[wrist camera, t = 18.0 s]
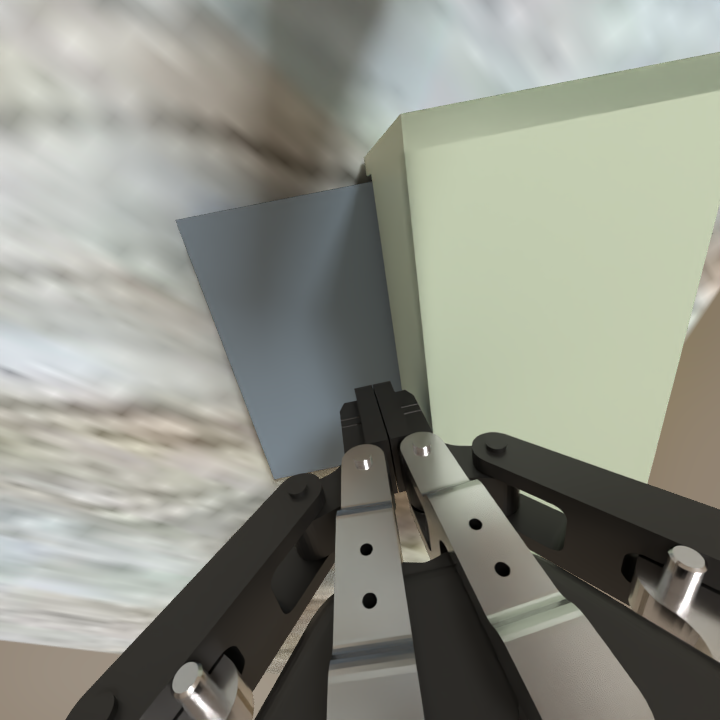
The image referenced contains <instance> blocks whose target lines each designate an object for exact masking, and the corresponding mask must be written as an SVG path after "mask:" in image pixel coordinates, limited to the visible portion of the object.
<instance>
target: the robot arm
mask: <svg viewBox="0 0 720 720" xmlns="http://www.w3.org/2000/svg"><path fill="white" fill-rule="evenodd" d="M354 390H355V395H356V399H357V401H352V402H347V403H344V404H343V406H342V408H341V410H340V419H341V427H342V436H343V445H344V456H343V458H342V462H341V465H340V467H339V468H338V469H337V470H336V471H334V472H333V473H331V474H330V475H328V476H326V477H324V478H322V479H319V478H318V477H317V476H316V475H313V474H310V473H301V474H297V475H294V476H292V477H290V478H288V479H287V480H286V481H284V482H283V483H282V484H281V485H280V486H279V487H278V488H277V489H276V491H275V492H274V493H273V494H272V495H271V496H270V497H269V498H268V499H267V500H266V501H265V502H264V503H263V504H262V505H261V507H260V508H259V509H258V510H257V511H256V512H255V513H254V514H253V515H252V516H251V517H250V518H249V519H248V520H247V521H246V522H245V524H244V525H243V526H242V527H241V528H240V529H239V530H238V531H237V532H236V533H235V534H234V535H233V536H232V537H231V538H230V540H229V541H228V542H227V543H226V544H225V545H224V546H223V547H222V548H221V549H220V550H219V551H218V552H217V553H216V554H215V556H214V557H213V558H212V559H211V560H210V561H209V562H208V563H207V564H206V565H205V566H204V567H203V568H202V569H201V570H200V572H199V573H198V574H197V575H196V576H195V577H194V578H193V579H192V580H191V581H190V582H189V583H188V584H187V585H186V586H185V587H184V589H183V590H182V591H181V592H180V593H179V594H178V595H177V596H176V597H175V598H174V599H173V600H172V601H171V602H170V603H169V605H168V606H167V607H166V608H165V609H164V610H163V611H162V612H161V613H160V614H159V615H158V616H157V617H156V618H155V619H154V621H153V622H152V623H151V624H150V625H149V626H148V627H147V628H146V629H145V630H144V631H143V632H142V633H141V634H140V635H139V637H138V638H137V639H136V640H135V641H134V642H133V643H132V644H131V645H130V646H129V647H128V648H127V649H126V650H125V651H124V652H123V654H122V655H121V656H120V657H119V658H118V659H117V660H116V661H115V662H114V663H113V664H112V665H111V666H110V667H109V668H108V670H107V671H106V672H105V673H104V674H103V675H102V676H101V677H100V678H99V679H98V680H97V681H96V682H95V684H93V686H92V687H91V688H90V689H89V690H88V691H87V692H86V693H85V694H84V695H83V696H82V698H81V699H80V700H79V701H78V702H77V704H76V705H75V706H74V708H73V709H72V711H71V712H70V713H69V715H68V717H67V718H66V720H252V718H253V711H254V699H253V694H252V692H253V690H254V689H255V687H256V685H257V684H258V682H259V681H260V679H261V678H262V676H263V675H264V673H265V671H266V670H267V668H268V667H269V665H270V664H271V662H272V660H273V659H274V657H275V656H276V654H277V652H278V651H279V649H280V648H281V646H282V645H283V643H284V641H285V640H286V638H287V637H288V635H289V634H290V632H291V630H292V629H293V627H294V626H295V624H296V622H297V621H298V619H299V618H300V616H301V615H302V613H303V611H304V610H305V608H306V607H307V605H308V604H309V602H310V600H311V599H312V597H313V596H314V594H315V593H316V591H317V589H318V588H319V586H320V585H321V583H322V581H323V580H324V578H325V577H326V575H327V574H328V572H329V570H330V569H331V567H332V566H333V564H334V563H335V583H334V594H333V595H332V596H331V597H329V598H328V599H327V600H326V601H325V602H324V604H323V605H322V606H321V607H320V608H319V609H318V611H317V612H316V614H315V615H314V616H313V618H312V619H311V621H310V623H309V624H308V626H307V628H306V630H305V631H304V633H303V635H302V637H301V638H300V640H299V642H298V644H297V645H296V647H295V649H294V651H293V653H292V654H291V656H290V658H289V660H288V661H287V663H286V665H285V667H284V668H283V670H282V672H281V674H280V676H279V677H278V679H277V681H276V683H275V684H274V686H273V688H272V690H271V691H270V693H269V695H268V697H267V698H266V700H265V702H264V704H263V706H262V707H261V709H260V711H259V713H258V714H257V716H256V718H255V720H720V510H719V509H717V508H714V507H711V506H708V505H705V504H703V503H700V502H697V501H694V500H691V499H688V498H685V497H682V496H680V495H677V494H674V493H671V492H668V491H666V490H663V489H660V488H657V487H654V486H651V485H649V484H646V483H643V482H640V481H637V480H634V479H632V478H629V477H626V476H623V475H620V474H617V473H615V472H612V471H609V470H606V469H603V468H600V467H598V466H595V465H592V464H589V463H586V462H583V461H581V460H578V459H575V458H572V457H569V456H566V455H563V454H561V453H558V452H555V451H552V450H549V449H546V448H544V447H541V446H538V445H535V444H532V443H529V442H527V441H524V440H521V439H518V438H515V437H512V436H510V435H507V434H503V433H499V432H488V433H484V434H481V435H479V436H477V437H476V438H475V439H474V440H473V442H472V446H457V445H450V444H447V443H444V442H443V440H442V439H441V438H440V437H439V436H437V435H436V434H433V432H432V430H431V428H430V426H429V424H428V422H427V420H426V418H425V416H424V414H423V412H422V411H421V408H420V406H419V404H418V403H417V401H416V399H415V397H414V395H413V394H411V393H409V392H408V391H406V390H402V391H398V392H395V391H394V389H393V387H392V384H391V382H390V381H386V382H382V383H377V384H373V388H372V385H368V386H364V387H359V388H354ZM396 483H397V485H396ZM397 486H398V489H399V492H403V491H406V492H407V496H408V499H409V505H410V510H411V513H412V516H413V518H414V521H415V523H416V526H417V528H418V531H419V533H420V535H421V538H422V540H423V543H424V545H425V548H426V550H427V553H428V555H429V558H430V561H428V562H425V563H410V562H403V556H402V550H401V544H400V538H399V532H398V525H397V519H396V514H395V509H396V503H395V498H394V493H398V491H397ZM520 490H522V491H524V492H526V493H528V494H530V495H533V496H535V497H537V498H539V499H541V500H544V501H546V502H548V503H550V504H552V505H554V506H556V507H558V508H559V509H560V510H561V511H562V512H563V513H562V512H560V511H558V510H556V509H553V508H551V507H549V506H547V505H545V504H543V503H540V502H538V501H536V500H534V499H532V498H530V497H527V496H525V495H523V494H521V493H520ZM530 550H531V551H533V552H535V553H536V554H538V555H540V556H542V557H543V558H542V557H540V556H538V555H535V554H532V553H531V552H530ZM544 558H545V559H544ZM546 559H547V560H546ZM550 561H551V562H550ZM557 565H558V566H557ZM559 566H560V567H559ZM562 568H563V569H562ZM564 569H565V570H564ZM566 570H567V571H568V572H567V571H566ZM569 572H570V573H569ZM571 573H572V574H574V575H576V576H577V577H579V578H581V579H583V580H584V581H586V582H588V583H590V584H592V585H593V586H595V587H597V588H599V589H601V590H602V591H604V592H606V593H608V594H609V595H611V596H613V597H615V598H616V599H618V600H620V601H622V602H624V603H626V604H627V605H629V606H631V608H632V610H631V609H629V608H627V607H626V606H624V605H623V604H621V603H619V602H617V601H616V600H614V599H613V598H611V597H609V596H608V595H606V594H604V593H602V592H601V591H599V590H598V589H596V588H594V587H593V586H591V585H589V584H587V583H586V582H584V581H582V580H581V579H579V578H577V577H576V576H574V575H572V574H571Z"/></svg>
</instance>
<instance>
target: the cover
mask: <svg viewBox="0 0 720 720" xmlns="http://www.w3.org/2000/svg"><path fill="white" fill-rule="evenodd" d="M364 161H365V168H366V174H367V176H372V183H373V190H374V197H375V204H376V211H377V218H378V225H379V232H380V239H381V246H382V253H383V260H384V267H385V274H386V281H387V288H388V295H389V302H390V309H391V316H392V323H393V330H394V337H395V344H396V351H397V358H398V365H399V372H400V379H401V387H402V390H406V391H408V392H409V393H411V394H413V395H414V397H415V399H416V401H417V403H418V404H419V406H420V408H421V411H422V412H423V414H424V416H425V418H426V420H427V422H428V424H429V426H430V428H431V430H432V432H433V434H436V435H437V436H439V437H440V438H441V439H442V440H443V442H444V443H447V444H450V445H457V446H472V442H473V440H474V439H475V438H476V437H477V436H479V435H481V434H484V433H488V432H499V433H503V434H507V435H510V436H512V437H515V438H518V439H521V440H524V441H527V442H529V443H532V444H535V445H538V446H541V447H544V448H546V449H549V450H552V451H555V452H558V453H561V454H563V455H566V456H569V457H572V458H575V459H578V460H581V461H583V462H586V463H589V464H592V465H595V466H598V467H600V468H603V469H606V470H609V471H612V472H615V473H617V474H620V475H623V476H626V477H629V478H632V479H634V480H637V481H640V482H643V483H646V484H647V483H648V479H649V475H650V471H651V467H652V464H653V460H654V456H655V452H656V448H657V444H658V440H659V436H660V432H661V429H662V425H663V421H664V417H665V413H666V409H667V405H668V402H669V398H670V394H671V390H672V386H673V382H674V378H675V374H676V371H677V366H678V363H679V359H680V355H681V351H682V347H683V343H684V340H685V336H686V332H687V328H688V324H689V320H690V316H691V312H692V309H693V305H694V301H695V297H696V293H697V289H698V285H699V281H700V278H701V274H702V270H703V266H704V262H705V258H706V254H707V250H708V247H709V243H710V239H711V235H712V231H713V227H714V223H715V219H716V216H717V212H718V208H719V204H720V52H717V53H712V54H706V55H701V56H696V57H691V58H686V59H681V60H676V61H670V62H665V63H660V64H655V65H650V66H645V67H639V68H634V69H629V70H624V71H619V72H614V73H609V74H603V75H598V76H593V77H588V78H583V79H578V80H573V81H567V82H562V83H557V84H552V85H547V86H542V87H537V88H531V89H526V90H521V91H516V92H511V93H506V94H501V95H495V96H490V97H485V98H480V99H475V100H470V101H465V102H459V103H454V104H449V105H444V106H439V107H434V108H428V109H423V110H418V111H413V112H408V113H403V114H400V115H399V116H398V117H397V119H396V120H395V121H394V122H393V124H392V125H391V126H390V127H389V128H388V130H387V131H386V132H385V133H384V134H383V136H382V137H381V138H380V139H379V140H378V142H377V143H376V144H375V145H374V146H373V148H372V149H371V150H370V151H369V152H368V154H367V155H366V156H365V157H364ZM520 493H521V494H523V495H525V496H527V497H530V498H532V499H534V500H536V501H538V502H540V503H543V504H545V505H547V506H549V507H551V508H553V509H556V510H558V511H560V512H562V511H561V510H560V509H559V508H558V507H556V506H554V505H552V504H550V503H548V502H546V501H544V500H541V499H539V498H537V497H535V496H533V495H530V494H528V493H526V492H524V491H522V490H520ZM562 513H563V512H562ZM530 552H531V553H532V554H535V555H538V554H536V553H535V552H533V551H531V550H530ZM538 556H540V555H538Z"/></svg>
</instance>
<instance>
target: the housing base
mask: <svg viewBox="0 0 720 720" xmlns="http://www.w3.org/2000/svg"><path fill="white" fill-rule="evenodd" d="M176 223H177V226H178V228H179V231H180V234H181V236H182V239H183V241H184V244H185V247H186V249H187V252H188V254H189V257H190V260H191V262H192V265H193V268H194V270H195V273H196V275H197V278H198V281H199V283H200V286H201V288H202V291H203V294H204V296H205V299H206V302H207V304H208V307H209V309H210V312H211V315H212V317H213V320H214V322H215V325H216V328H217V330H218V333H219V336H220V338H221V341H222V343H223V346H224V349H225V351H226V354H227V356H228V359H229V362H230V364H231V367H232V370H233V372H234V375H235V377H236V380H237V383H238V385H239V388H240V390H241V393H242V396H243V398H244V401H245V404H246V406H247V409H248V411H249V414H250V417H251V419H252V422H253V424H254V427H255V430H256V432H257V435H258V438H259V440H260V443H261V445H262V448H263V451H264V453H265V456H266V458H267V461H268V464H269V466H270V469H271V472H272V474H273V477H274V479H278V478H283V477H288V476H293V475H297V474H301V473H308V472H313V471H318V470H323V469H328V468H333V467H338V466H340V465H341V462H342V458H343V456H344V445H343V436H342V427H341V419H340V410H341V408H342V406H343V404H344V403H347V402H352V401H357V399H356V395H355V390H354V388H359V387H364V386H368V385H372V388H373V384H377V383H382V382H386V381H390V382H391V384H392V387H393V389H394V391H395V392H398V391H402V387H401V379H400V372H399V365H398V358H397V351H396V344H395V337H394V330H393V323H392V316H391V309H390V302H389V295H388V288H387V281H386V274H385V267H384V260H383V253H382V246H381V239H380V232H379V225H378V218H377V211H376V204H375V197H374V190H373V183H372V182H367V183H362V184H357V185H352V186H347V187H342V188H337V189H332V190H326V191H321V192H316V193H311V194H306V195H301V196H296V197H291V198H286V199H280V200H275V201H270V202H265V203H260V204H255V205H250V206H245V207H240V208H234V209H229V210H224V211H219V212H214V213H209V214H204V215H199V216H194V217H188V218H183V219H178V220H176Z"/></svg>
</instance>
